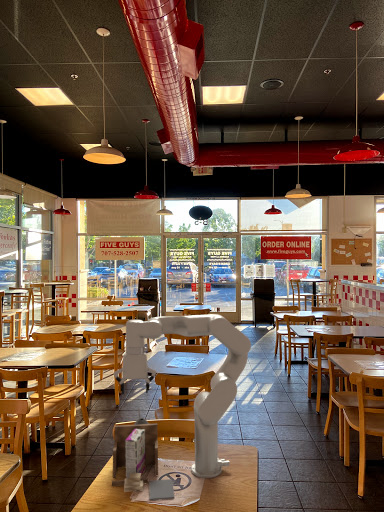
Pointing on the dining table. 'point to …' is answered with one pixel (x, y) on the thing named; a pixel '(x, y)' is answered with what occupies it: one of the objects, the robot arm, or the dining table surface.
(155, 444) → the stand
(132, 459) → the candy bar box
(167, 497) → the mat
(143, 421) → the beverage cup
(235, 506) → the dining table surface
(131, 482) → the offcut stack
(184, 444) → the dining table surface
